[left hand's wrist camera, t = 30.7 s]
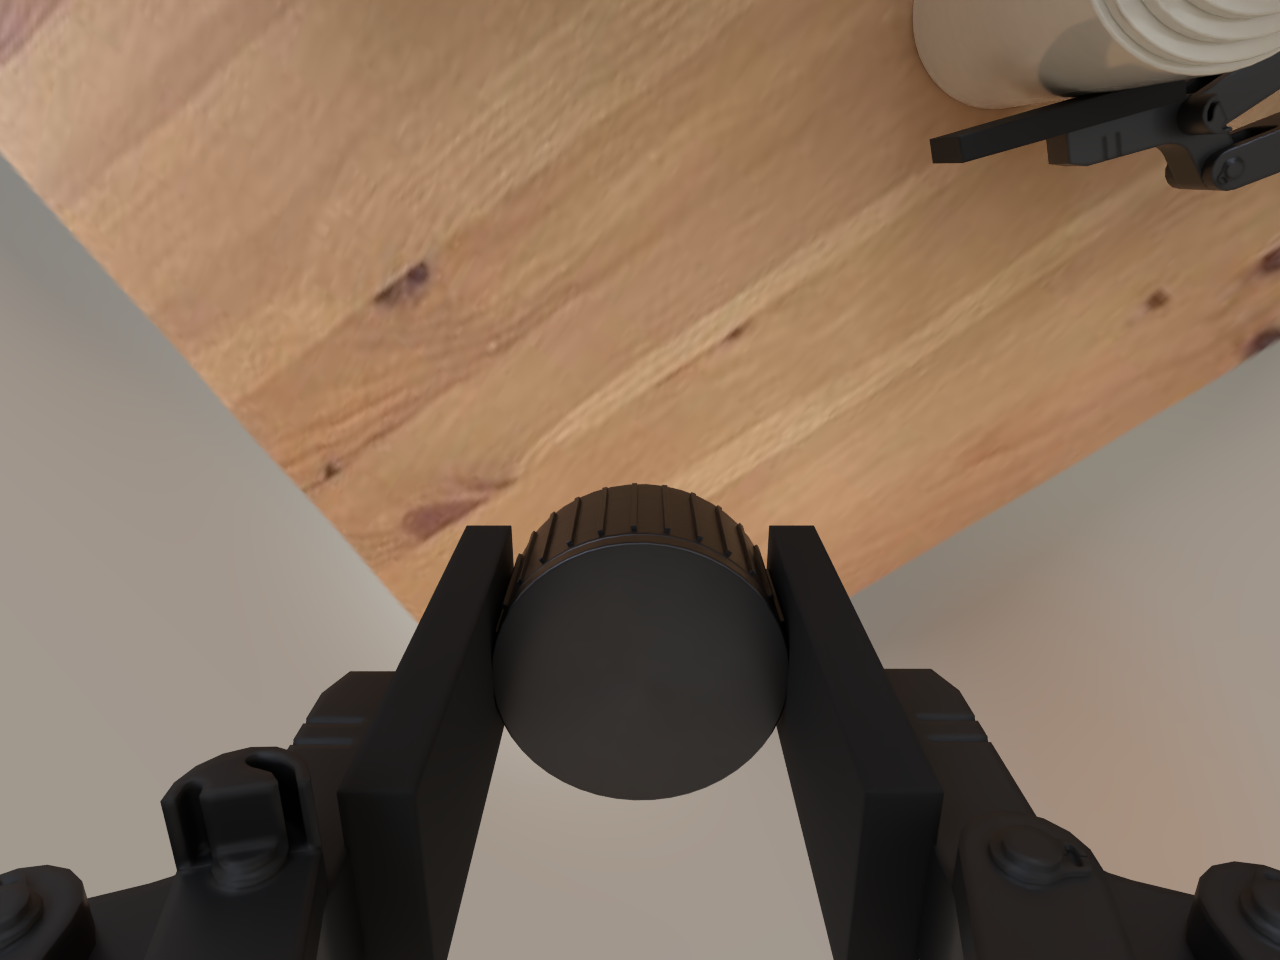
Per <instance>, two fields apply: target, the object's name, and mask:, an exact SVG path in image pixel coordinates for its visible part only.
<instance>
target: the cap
mask: <svg viewBox="0 0 1280 960" xmlns="http://www.w3.org/2000/svg"><path fill="white" fill-rule="evenodd" d="M501 608H503V609H502V612H501V615H500V618H499V621H498V625H497V628H496V636H495V640H494V645H493V649H492V654H491V661H492V677H493V691H494V700H495V704H496V707H497V710H498V712H499V715H500V717H501V719H502V722H503V724H504V725H505V727H506V729H507V730H508V732H509V734H510V735H511V737H512V738H513V740H514V741H515V742H516V743H517V745H518V746H519V747H520V748H521V750H522V751H523V752H524V753H525V754H526V755H527V756H528V757H529V758H530V759H531V760H532V761H533V762H534V763H536V764H537V765H538V766H540V767H541V768H542V769H544V770H545V771H546V772H548V773H549V774H551V775H552V776H554V777H556V778H558V779H559V780H561V781H563V782H565V783H567V784H569V785H571V786H574V787H576V788H578V789H580V790H584V791H587V792H590V793H593V794H596V795H600V796H605V797H610V798H616V799H626V800H656V799H664V798H671V797H676V796H680V795H684V794H689V793H691V792H694V791H697V790H700V789H703V788H706V787H708V786H710V785H712V784H714V783H716V782H718V781H720V780H722V779H724V778H725V777H727V776H728V775H730V774H732V773H733V772H735V771H736V770H738V769H739V768H740V767H741V766H742V765H744V764H745V763H746V762H747V761H749V760H750V759H751V758H752V757H753V756H754V755H755V754H756V753H757V752H758V750H759V749H760V748H761V747H762V746H763V745H764V743H765V742H766V741H767V739H768V738H769V737H770V735H771V734H772V732H773V730H774V729H775V727H776V725H777V723H778V721H779V719H780V717H781V715H782V712H783V709H784V706H785V704H786V699H787V686H788V672H789V649H788V645H787V642H786V638H785V634H784V631H783V628H782V626H783V625H786V623H785V620H784V617H783V614H782V611H781V608H780V604H779V601H778V598H777V595H776V592H775V589H774V586H773V582H772V579H771V576H770V573H769V570H768V569H765V566H764V563H763V559H762V556H761V553H760V550H759V547H758V546H757V545H755V546H754V545H753V543H752V542H751V540H750V538H749V537H748V536H747V534H746V533H745V532H744V528H743V526H742V525H741V524H740V523H739V524H737V523H736V522H735V521H734V520H733V519H732V518H731V517H730V516H728V515H727V514H726V513H725V512H723V511H722V508H721V507H720V506H718V505H717V507H716V506H715V505H713V504H712V503H710V502H708V501H706V500H704V499H702V498H700V497H698V496H696V494H695V493H692V492H691V494H690V493H688V492H685V491H682V490H679V489H674V488H670V487H667V485H662V486H658V485H648V484H637V483H632V485H623V486H616V487H610V488H608V487H605V488H602V490H599V491H595V492H593V493H590V494H588V495H585V496H583V497H581V498H580V497H577V498H575V500H574V501H573V502H571V503H570V504H568V505H566V506H564V507H563V508H562V509H560V510H559V511H558V512H556V513H555V512H553V513H552V514H551V515H550V518H549V519H548V520H547V521H546V522H545V523H544V524H543V525H542V526H541V527H540V528H539V529H538V531H537V532H535V531H533V533H532V534H531V537H530V540H529V543H528V545H527V547H526V548H525V550H524V552H523V554H519V555H518V557H517V560H516V563H515V566H514V569H513V572H512V575H511V578H510V582H509V585H508V588H507V591H506V594H505V597H504V600H503V603H502V606H501Z"/></svg>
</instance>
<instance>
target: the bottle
mask: <svg viewBox="0 0 1280 960" xmlns="http://www.w3.org/2000/svg"><path fill="white" fill-rule="evenodd" d="M913 32H914V38H915V44H916V47H917V51H918V54H919V57H920V59H921V61H922V63H923V65H924V68H925V69H926V71H927V72H928V74H929V75H930V77H931V78H932V80H933V81H934V82H935V83H936V84H937V85H938V87H940V88H941V89H942V90H943V91H944V92H945V93H947V94H948V95H949V96H951V97H953V98H954V99H956V100H957V101H960V102H962V103H964V104H967V105H969V106H973V107H977V108H984V109H1005V108H1011V107H1017V106H1024V105H1030V104H1036V103H1042V102H1049V101H1055V100H1061V99H1067V98H1074V97H1080V96H1086V95H1092V94H1098V93H1105V92H1111V91H1117V90H1123V89H1130V88H1136V87H1142V86H1148V85H1155V84H1161V83H1167V82H1173V81H1180V80H1186V79H1192V78H1198V77H1204V76H1211V75H1217V74H1222V73H1228V72H1233V71H1236V70H1239V69H1242V68H1245V67H1249V66H1252V65H1254V64H1256V63H1258V62H1260V61H1263V60H1265V59H1267V58H1269V57H1271V56H1273V55H1275V54H1276V53H1278V52H1280V0H914V3H913Z"/></svg>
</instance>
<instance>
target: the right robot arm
mask: <svg viewBox="0 0 1280 960" xmlns="http://www.w3.org/2000/svg"><path fill="white" fill-rule="evenodd" d="M1279 89H1280V52H1278V53H1276V54H1275V55H1273V56H1271V57H1269V58H1267V59H1265V60H1263V61H1260V62H1258V63H1256V64H1254V65H1252V66H1249V67H1245V68H1242V69H1239V70H1236V71H1233V72H1228V73H1222V74H1217V75H1211V76H1204V77H1198V78H1192V79H1186V80H1180V81H1173V82H1167V83H1161V84H1155V85H1148V86H1142V87H1136V88H1130V89H1123V90H1117V91H1111V92H1105V93H1098V94H1092V95H1086V96H1080V97H1076V98H1072V99H1069V100H1065V101H1062V102H1058V103H1055V104H1051V105H1048V106H1044V107H1041V108H1037V109H1034V110H1030V111H1027V112H1023V113H1020V114H1016V115H1013V116H1009V117H1006V118H1003V119H999V120H996V121H992V122H989V123H985V124H982V125H978V126H975V127H971V128H968V129H964V130H961V131H957V132H954V133H950V134H947V135H943V136H940V137H936V138H933V139H930V146H931V153H932V160H933V163H964V162H968V161H971V160H975V159H978V158H982V157H985V156H989V155H992V154H996V153H999V152H1003V151H1006V150H1010V149H1013V148H1017V147H1021V146H1024V145H1028V144H1031V143H1035V142H1038V141H1042V140H1045V139H1046V141H1047V151H1048V161H1049V164H1052V165H1060V166H1089V165H1093V164H1096V163H1100V162H1103V161H1106V160H1110V159H1114V158H1118V157H1121V156H1125V155H1128V154H1132V153H1136V152H1139V151H1143V150H1146V149H1150V148H1153V147H1157V148H1158V149H1159V150H1160V151H1161V152H1162V154H1163V155H1164V157H1165V159H1166V161H1167V163H1168V164H1167V167H1166V169H1165V177H1166V180H1167V182H1168V184H1170V185H1171V186H1172V187H1174V188H1178V189H1196V190H1221V191H1228V190H1234V189H1237V188H1240V187H1242V186H1245V185H1247V184H1250V183H1253V182H1255V181H1258V180H1260V179H1263V178H1266V177H1268V176H1271V175H1273V174H1276V173H1279V172H1280V112H1279V113H1276V114H1274V115H1271V116H1269V117H1266V118H1264V119H1261V120H1258V121H1256V122H1253V123H1251V124H1248V125H1246V126H1243V127H1241V128H1238V129H1236V130H1233V131H1232V128H1231V127H1227V126H1226V124H1227V123H1229V122H1230V121H1232V120H1233V119H1235V118H1237V117H1238V116H1240V115H1241V114H1243V113H1244V112H1246V111H1247V110H1249V109H1250V108H1252V107H1253V106H1255V105H1256V104H1258V103H1259V102H1261V101H1262V100H1264V99H1265V98H1267V97H1268V96H1270V95H1271V94H1273V93H1274V92H1276V91H1277V90H1279ZM1229 131H1230V132H1229Z"/></svg>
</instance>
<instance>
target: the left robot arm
mask: <svg viewBox="0 0 1280 960" xmlns="http://www.w3.org/2000/svg"><path fill="white" fill-rule="evenodd" d="M513 569H514V564H513V547H512V529H511V526H466V528H465V530H464V532H463V534H462V536H461V538H460V541H459V543H458V545H457V547H456V549H455V551H454V553H453V555H452V557H451V559H450V561H449V563H448V565H447V567H446V569H445V571H444V573H443V575H442V577H441V579H440V581H439V584H438V586H437V588H436V590H435V592H434V594H433V596H432V598H431V600H430V602H429V604H428V606H427V608H426V610H425V612H424V614H423V616H422V618H421V620H420V622H419V624H418V626H417V629H416V631H415V633H414V635H413V637H412V639H411V641H410V643H409V645H408V647H407V649H406V651H405V653H404V655H403V657H402V659H401V661H400V663H399V665H398V667H397V670H396V671H350V672H349V673H347V674H346V675H345V676H343V677H342V678H341V679H340V680H338V681H337V682H336V683H334V684H333V685H332V686H330V687H329V688H328V689H327V690H325V691H324V692H323V693H322V694H321V695H320V697H319V699H318V700H317V702H316V703H315V705H314V707H313V709H312V710H311V712H310V713H309V715H308V717H307V718H306V724H303V725H302V726H301V728H300V730H299V731H298V733H297V735H296V736H295V738H294V742H293V745H290V746H289V748H288V749H287V750H286V749H282V748H279V747H249V748H245V749H241V750H237V751H232V752H229V753H224V754H221V755H219V756H217V757H215V758H213V759H210V760H208V761H206V762H204V763H202V764H200V765H197V766H196V767H194V768H193V769H192V770H190V771H189V772H188V773H186V774H185V775H184V776H182V777H181V778H180V779H178V780H177V781H176V782H174V783H173V785H172V786H171V788H170V789H169V790H168V792H167V793H166V795H165V796H164V797H163V799H162V800H161V806H162V810H163V814H164V818H165V822H166V827H167V831H168V835H169V839H170V843H171V847H172V851H173V856H174V860H175V864H176V868H177V872H176V875H174V876H172V877H169V878H166V879H162V880H159V881H156V882H153V883H150V884H145V885H141V886H137V887H133V888H129V889H125V890H121V891H116V892H113V893H108V894H104V895H100V896H96V897H91V898H87V897H86V893H85V890H84V886H83V883H82V881H81V880H80V879H79V878H78V877H77V876H76V875H75V874H74V873H73V872H72V871H71V870H70V869H66V868H61V867H56V866H51V865H42V866H34V867H26V868H18V869H15V870H12V871H10V872H7V873H4V874H1V875H0V960H447V957H448V953H449V949H450V945H451V941H452V937H453V932H454V928H455V924H456V920H457V916H458V912H459V908H460V904H461V900H462V896H463V892H464V888H465V884H466V879H467V875H468V871H469V867H470V863H471V859H472V855H473V850H474V847H475V843H476V838H477V834H478V830H479V826H480V822H481V818H482V814H483V810H484V806H485V802H486V798H487V794H488V790H489V785H490V781H491V777H492V773H493V769H494V765H495V761H496V757H497V753H498V749H499V745H500V740H501V736H502V732H503V728H504V724H503V722H502V719H501V717H500V715H499V712H498V710H497V707H496V704H495V700H494V691H493V677H492V661H491V654H492V649H493V645H494V640H495V636H496V628H497V625H498V621H499V618H500V615H501V612H502V609H503V608H501V606H502V603H503V600H504V597H505V594H506V591H507V588H508V585H509V582H510V578H511V575H512V572H513ZM767 569H768V570H769V573H770V576H771V579H772V582H773V586H774V589H775V592H776V595H777V598H778V601H779V604H780V608H781V611H782V614H783V617H784V620H785V623H786V625H783V626H782V628H783V631H784V634H785V638H786V642H787V645H788V649H789V672H788V686H787V699H786V704H785V706H784V709H783V712H782V715H781V717H780V719H779V721H778V723H777V725H776V726H777V730H778V734H779V738H780V742H781V746H782V751H783V755H784V759H785V763H786V767H787V771H788V775H789V779H790V783H791V787H792V791H793V795H794V800H795V804H796V808H797V811H798V816H799V820H800V824H801V828H802V832H803V836H804V840H805V844H806V848H807V852H808V857H809V861H810V865H811V869H812V873H813V877H814V881H815V885H816V889H817V893H818V897H819V902H820V906H821V910H822V914H823V918H824V922H825V926H826V930H827V934H828V938H829V942H830V946H831V951H832V955H833V958H834V960H1280V871H1279V870H1276V869H1274V868H1271V867H1268V866H1265V865H1259V864H1251V863H1243V862H1235V861H1234V862H1229V863H1224V864H1219V865H1214V866H1211V867H1210V868H1209V869H1208V870H1207V871H1206V872H1205V873H1204V874H1203V875H1202V876H1201V877H1200V878H1199V882H1198V885H1197V889H1196V892H1195V895H1191V894H1187V893H1183V892H1179V891H1175V890H1170V889H1166V888H1162V887H1158V886H1154V885H1150V884H1145V883H1141V882H1137V881H1133V880H1129V879H1126V878H1123V877H1120V876H1117V875H1114V874H1110V873H1108V872H1106V871H1103V869H1102V867H1101V866H1100V864H1099V862H1098V861H1097V859H1096V858H1095V856H1094V855H1093V853H1092V851H1091V850H1090V849H1089V848H1088V847H1087V846H1086V845H1084V844H1083V843H1082V842H1081V841H1080V840H1079V839H1077V838H1076V837H1075V836H1074V835H1073V834H1071V833H1070V832H1069V831H1067V830H1065V829H1063V828H1061V827H1059V826H1057V825H1055V824H1053V823H1051V822H1049V821H1048V820H1046V819H1044V818H1040V817H1037V816H1036V815H1035V813H1034V812H1033V810H1032V808H1031V807H1030V805H1029V803H1028V802H1027V800H1026V799H1025V797H1024V795H1023V794H1022V792H1021V790H1020V789H1019V787H1018V785H1017V784H1016V782H1015V781H1014V779H1013V777H1012V776H1011V774H1010V772H1009V771H1008V769H1007V768H1006V766H1005V764H1004V763H1003V761H1002V759H1001V758H1000V756H999V755H998V753H997V751H996V750H995V748H994V746H993V745H992V743H991V742H988V737H987V735H986V733H985V732H984V730H983V728H982V727H981V725H980V724H979V722H978V721H975V715H974V714H973V712H972V711H971V709H970V707H969V706H968V704H967V702H966V701H965V699H964V698H963V696H962V694H961V693H960V691H959V690H958V689H957V688H955V687H954V686H953V685H951V684H950V683H949V682H947V681H946V680H945V679H944V678H942V677H941V676H940V675H938V674H937V673H936V672H934V671H933V670H932V669H884V668H883V666H882V664H881V662H880V660H879V658H878V656H877V654H876V652H875V650H874V648H873V646H872V644H871V642H870V640H869V638H868V636H867V633H866V631H865V629H864V627H863V625H862V623H861V621H860V619H859V617H858V615H857V613H856V611H855V609H854V607H853V605H852V603H851V601H850V599H849V597H848V595H847V593H846V590H845V588H844V586H843V584H842V582H841V580H840V578H839V576H838V574H837V572H836V570H835V568H834V566H833V564H832V562H831V560H830V558H829V556H828V554H827V552H826V550H825V548H824V545H823V543H822V541H821V539H820V537H819V535H818V533H817V531H816V529H815V527H814V526H769V539H768V557H767Z"/></svg>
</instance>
